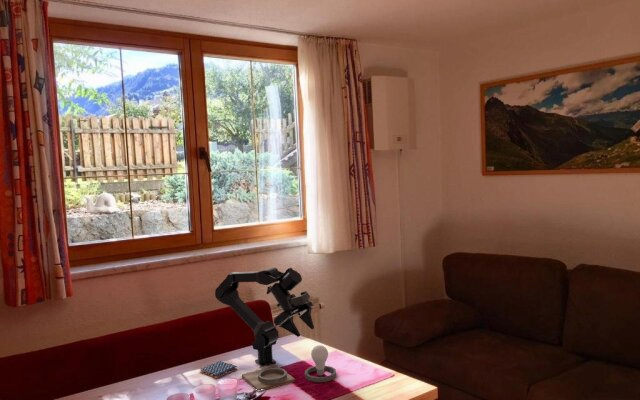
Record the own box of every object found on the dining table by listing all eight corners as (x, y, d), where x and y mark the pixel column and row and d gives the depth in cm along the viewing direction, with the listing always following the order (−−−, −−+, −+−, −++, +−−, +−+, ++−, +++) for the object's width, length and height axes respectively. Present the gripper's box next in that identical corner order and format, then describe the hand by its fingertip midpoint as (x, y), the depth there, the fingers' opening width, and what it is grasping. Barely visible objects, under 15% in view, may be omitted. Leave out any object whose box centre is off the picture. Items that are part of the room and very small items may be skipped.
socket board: (241, 377, 181) (241, 370, 181) (276, 368, 188) (276, 361, 188) (258, 391, 168) (257, 384, 168) (294, 381, 175) (294, 374, 175)
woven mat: (220, 364, 196) (220, 359, 196) (238, 370, 189) (238, 365, 189) (198, 373, 188) (198, 368, 188) (216, 380, 181) (216, 374, 181)
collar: (299, 374, 182) (299, 370, 181) (325, 367, 187) (325, 363, 187) (314, 384, 172) (314, 380, 172) (341, 377, 178) (341, 372, 177)
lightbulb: (329, 372, 182) (328, 342, 182) (328, 379, 176) (327, 348, 176) (313, 372, 183) (311, 342, 182) (311, 379, 177) (309, 348, 176)
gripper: (281, 291, 176) (306, 328, 172) (310, 280, 192) (333, 314, 187) (263, 307, 181) (286, 344, 177) (292, 295, 197) (314, 329, 192)
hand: (306, 332), depth 183 cm, fingers open, 9 cm apart
